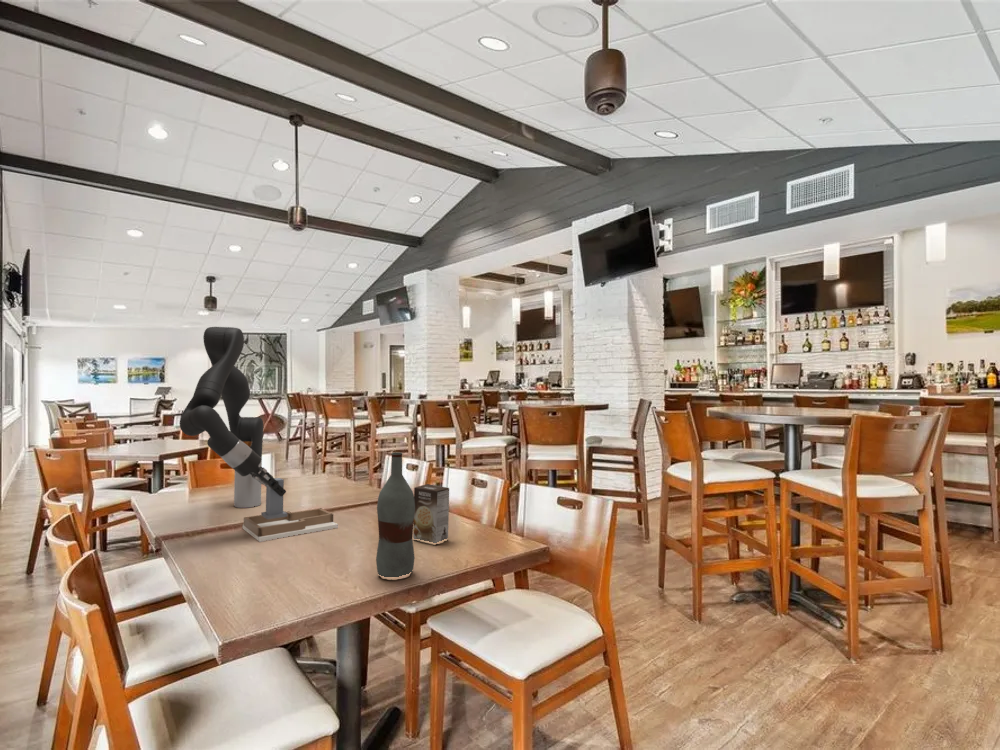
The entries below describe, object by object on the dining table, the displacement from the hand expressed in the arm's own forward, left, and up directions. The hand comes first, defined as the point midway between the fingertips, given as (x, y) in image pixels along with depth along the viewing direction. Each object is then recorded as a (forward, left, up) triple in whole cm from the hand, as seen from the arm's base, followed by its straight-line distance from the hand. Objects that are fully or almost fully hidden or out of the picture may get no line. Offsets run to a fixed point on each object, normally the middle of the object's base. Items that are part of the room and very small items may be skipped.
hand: (281, 492), depth 168 cm
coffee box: (+39, +31, -12) cm, 51 cm away
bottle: (+57, +9, -12) cm, 59 cm away
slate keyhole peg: (0, -2, -7) cm, 7 cm away
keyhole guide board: (0, +3, -12) cm, 12 cm away
